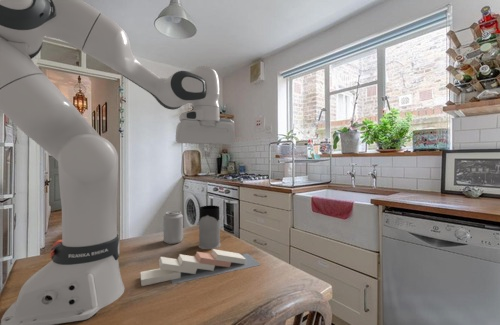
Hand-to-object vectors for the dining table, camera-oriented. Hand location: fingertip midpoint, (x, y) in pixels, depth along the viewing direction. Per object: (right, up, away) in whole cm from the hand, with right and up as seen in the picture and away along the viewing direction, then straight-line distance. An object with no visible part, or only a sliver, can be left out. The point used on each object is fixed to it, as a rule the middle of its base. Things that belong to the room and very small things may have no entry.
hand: (206, 157), depth 83 cm
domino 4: (+8, -33, -7) cm, 35 cm away
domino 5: (+12, -33, -4) cm, 36 cm away
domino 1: (-6, -33, -13) cm, 36 cm away
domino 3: (+3, -33, -9) cm, 34 cm away
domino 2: (-2, -33, -11) cm, 35 cm away
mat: (+4, -34, -8) cm, 36 cm away
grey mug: (0, -34, +13) cm, 36 cm away
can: (-16, -34, +15) cm, 41 cm away
